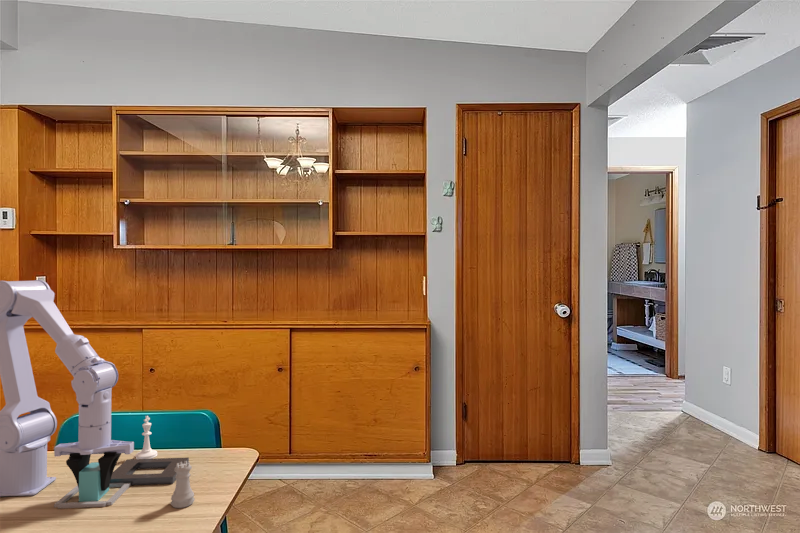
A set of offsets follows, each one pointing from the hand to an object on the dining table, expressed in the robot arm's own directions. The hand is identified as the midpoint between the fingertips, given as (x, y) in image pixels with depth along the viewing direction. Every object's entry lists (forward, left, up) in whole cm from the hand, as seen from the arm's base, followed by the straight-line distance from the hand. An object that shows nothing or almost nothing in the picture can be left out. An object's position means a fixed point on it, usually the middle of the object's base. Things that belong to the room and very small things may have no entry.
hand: (94, 489), depth 101 cm
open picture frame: (0, 0, -1) cm, 1 cm away
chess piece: (+2, +21, -2) cm, 21 cm away
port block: (+7, +10, -1) cm, 12 cm away
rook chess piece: (+19, -5, -2) cm, 20 cm away
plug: (0, 0, -1) cm, 1 cm away
